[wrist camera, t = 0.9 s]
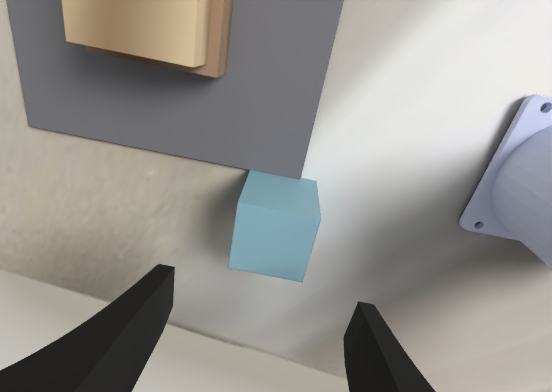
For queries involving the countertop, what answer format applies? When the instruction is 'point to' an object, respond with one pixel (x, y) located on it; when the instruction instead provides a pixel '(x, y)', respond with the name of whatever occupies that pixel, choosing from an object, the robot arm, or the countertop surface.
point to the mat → (186, 86)
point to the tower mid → (142, 27)
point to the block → (275, 226)
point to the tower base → (216, 46)
